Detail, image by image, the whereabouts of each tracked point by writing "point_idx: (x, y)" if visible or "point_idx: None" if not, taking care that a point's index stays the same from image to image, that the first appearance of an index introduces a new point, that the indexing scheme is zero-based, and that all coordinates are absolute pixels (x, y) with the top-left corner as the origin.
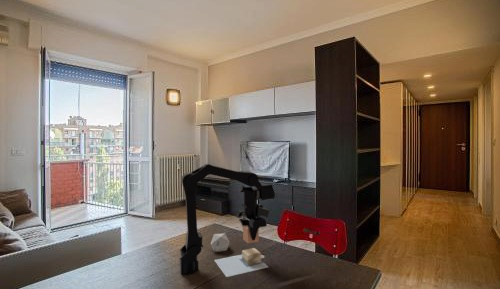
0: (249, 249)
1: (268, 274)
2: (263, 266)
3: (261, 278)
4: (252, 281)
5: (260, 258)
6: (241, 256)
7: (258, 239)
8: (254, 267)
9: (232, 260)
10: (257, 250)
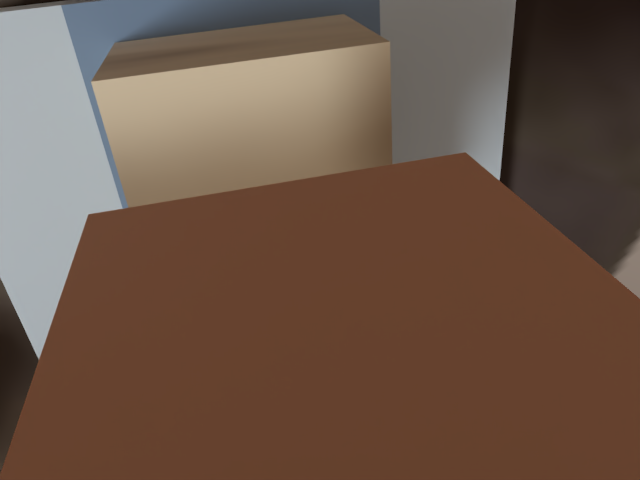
0: (154, 200)
1: (598, 7)
2: (471, 21)
3: (618, 118)
4: (609, 215)
5: (358, 27)
6: (53, 231)
7: (494, 186)
8: (437, 146)
9: None
10: (250, 62)
